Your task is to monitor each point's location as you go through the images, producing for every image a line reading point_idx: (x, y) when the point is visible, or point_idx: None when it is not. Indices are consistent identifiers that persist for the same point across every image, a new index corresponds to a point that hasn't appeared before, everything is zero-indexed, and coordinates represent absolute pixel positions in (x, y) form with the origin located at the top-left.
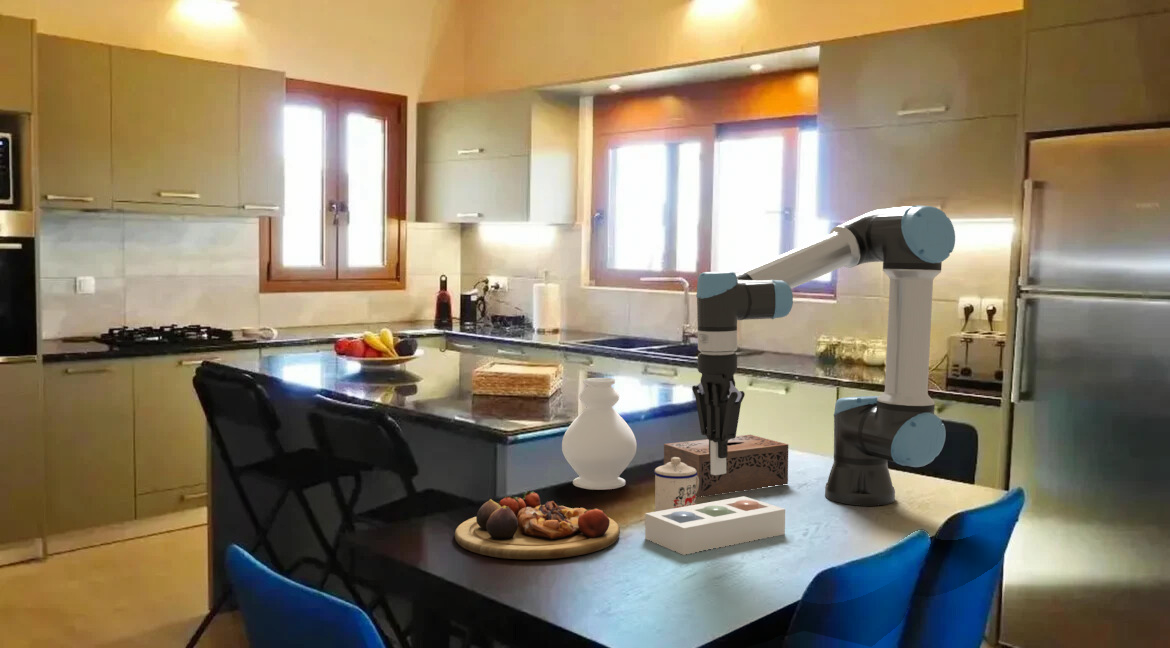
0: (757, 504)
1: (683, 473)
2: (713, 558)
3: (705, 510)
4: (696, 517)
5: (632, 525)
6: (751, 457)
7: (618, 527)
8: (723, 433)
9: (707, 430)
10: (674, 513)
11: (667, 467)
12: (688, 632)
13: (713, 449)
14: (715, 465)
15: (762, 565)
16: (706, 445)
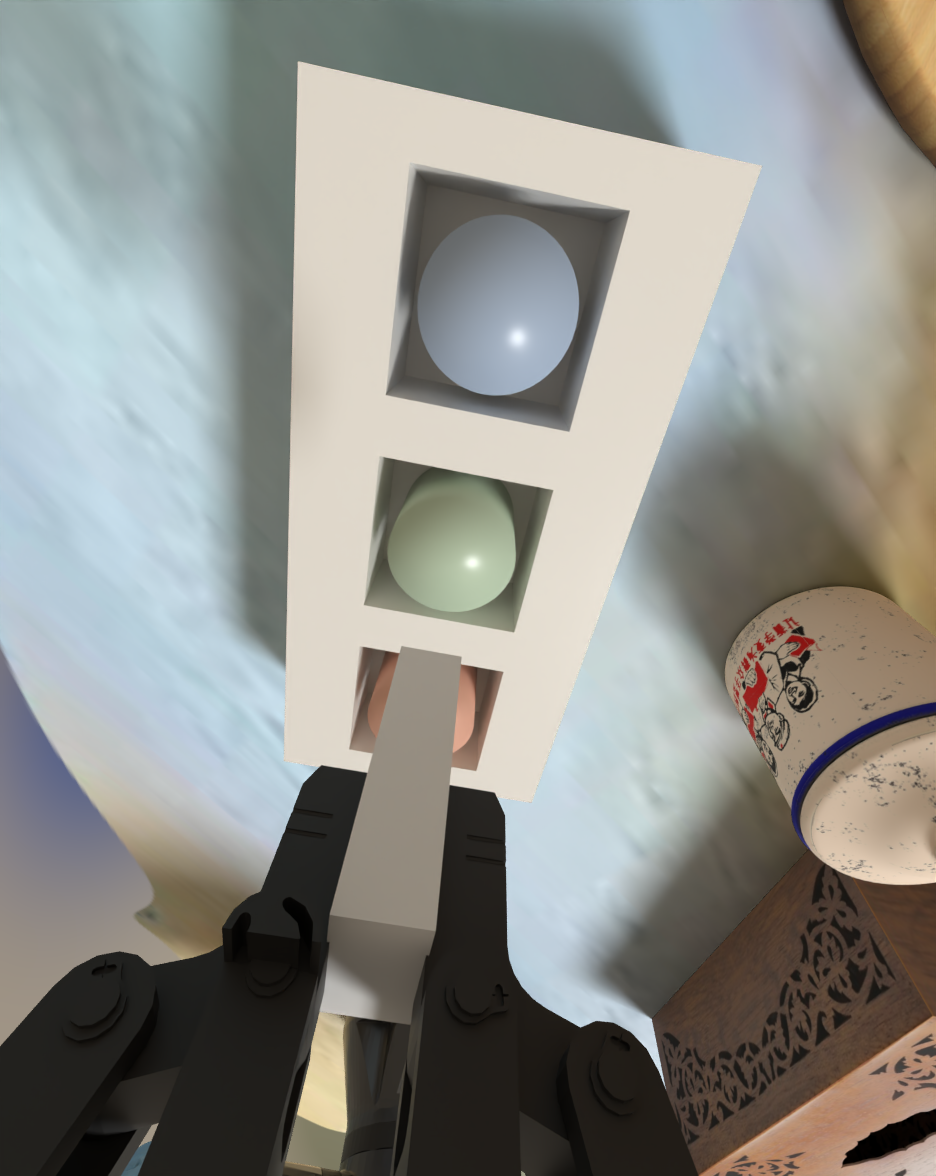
0: (375, 730)
1: (845, 774)
2: (221, 209)
3: (474, 500)
4: (470, 408)
5: (897, 352)
6: (753, 1085)
7: (905, 56)
8: (72, 1078)
9: (504, 1120)
10: (556, 284)
11: None
12: None
13: (389, 825)
14: (388, 698)
15: (31, 312)
16: None
